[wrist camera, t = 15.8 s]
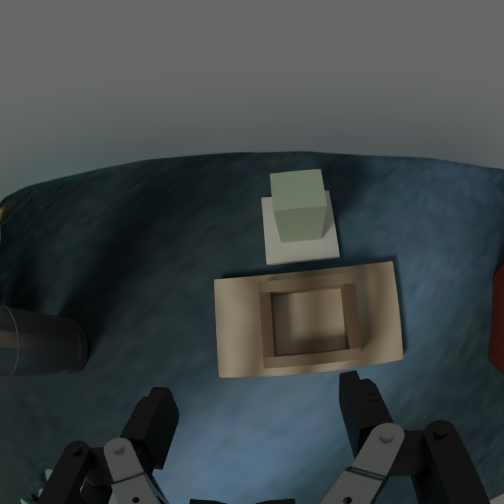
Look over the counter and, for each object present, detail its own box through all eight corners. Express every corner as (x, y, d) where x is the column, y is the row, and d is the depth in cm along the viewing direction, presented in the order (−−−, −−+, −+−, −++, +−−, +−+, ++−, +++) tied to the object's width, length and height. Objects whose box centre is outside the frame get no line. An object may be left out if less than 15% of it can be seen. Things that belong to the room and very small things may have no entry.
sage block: (281, 243, 36) (273, 210, 27) (278, 213, 37) (269, 173, 28) (321, 239, 35) (326, 205, 26) (317, 209, 37) (320, 168, 27)
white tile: (267, 265, 37) (266, 264, 36) (262, 200, 39) (261, 197, 38) (338, 257, 35) (339, 256, 34) (328, 193, 38) (328, 190, 37)
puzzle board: (222, 375, 34) (211, 381, 29) (217, 281, 37) (206, 274, 33) (399, 358, 31) (411, 361, 26) (389, 263, 34) (399, 254, 30)
